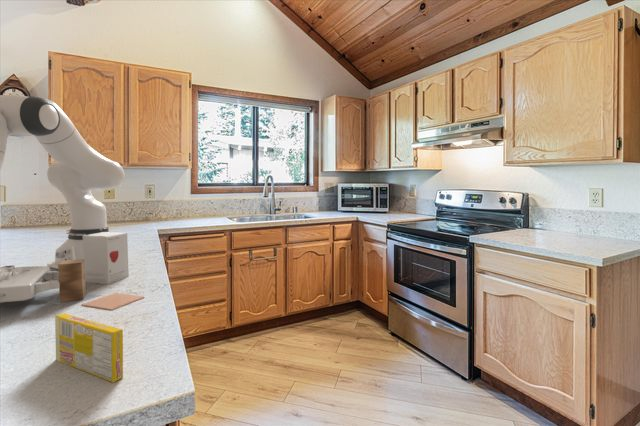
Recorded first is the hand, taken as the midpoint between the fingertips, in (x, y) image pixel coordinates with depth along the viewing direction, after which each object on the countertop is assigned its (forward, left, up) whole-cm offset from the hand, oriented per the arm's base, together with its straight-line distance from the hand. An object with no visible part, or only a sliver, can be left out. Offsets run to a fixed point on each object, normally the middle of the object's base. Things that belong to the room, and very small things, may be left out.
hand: (63, 279), depth 94 cm
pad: (+13, +3, -6) cm, 15 cm away
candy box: (+37, -23, -6) cm, 44 cm away
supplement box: (-7, +18, -6) cm, 20 cm away
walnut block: (+1, +1, -5) cm, 6 cm away
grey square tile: (+1, +1, -6) cm, 6 cm away
